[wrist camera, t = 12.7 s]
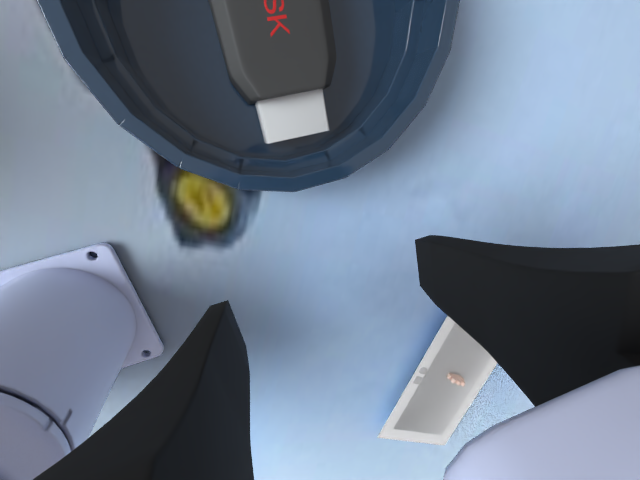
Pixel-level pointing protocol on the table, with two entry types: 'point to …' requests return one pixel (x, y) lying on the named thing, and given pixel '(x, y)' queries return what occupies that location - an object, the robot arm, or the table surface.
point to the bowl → (226, 102)
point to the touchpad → (440, 388)
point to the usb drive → (279, 61)
